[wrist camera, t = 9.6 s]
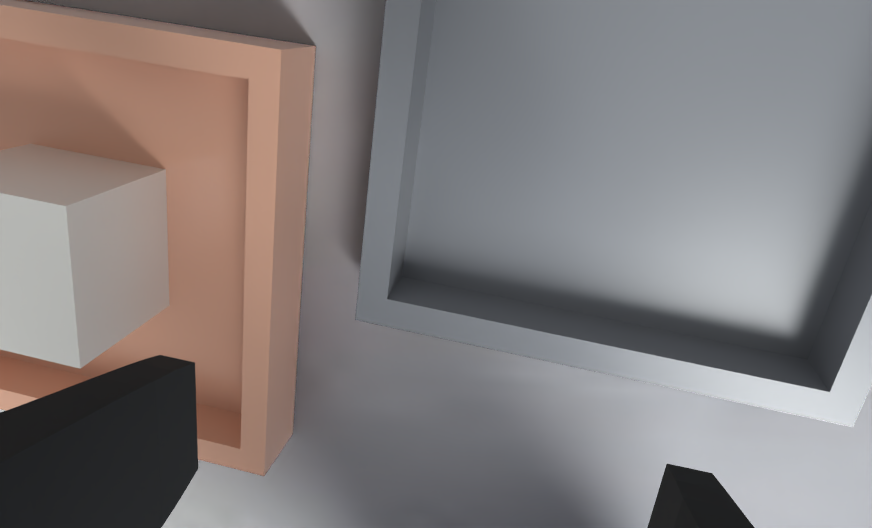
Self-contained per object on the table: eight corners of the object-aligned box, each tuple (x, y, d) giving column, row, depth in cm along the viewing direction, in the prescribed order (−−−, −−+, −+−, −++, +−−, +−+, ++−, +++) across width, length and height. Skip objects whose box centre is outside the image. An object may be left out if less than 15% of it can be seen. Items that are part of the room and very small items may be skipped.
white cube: (169, 305, 20) (80, 368, 17) (44, 277, 21) (-68, 332, 17) (165, 169, 19) (66, 206, 15) (30, 143, 19) (-98, 173, 16)
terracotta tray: (292, 434, 22) (264, 476, 20) (-33, 354, 24) (-89, 386, 22) (315, 46, 17) (281, 49, 15) (-94, -19, 19) (-174, -24, 17)
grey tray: (820, 380, 18) (852, 427, 16) (378, 288, 19) (355, 320, 17) (1045, -156, 13) (1132, -188, 11) (432, -216, 15) (410, -254, 13)
